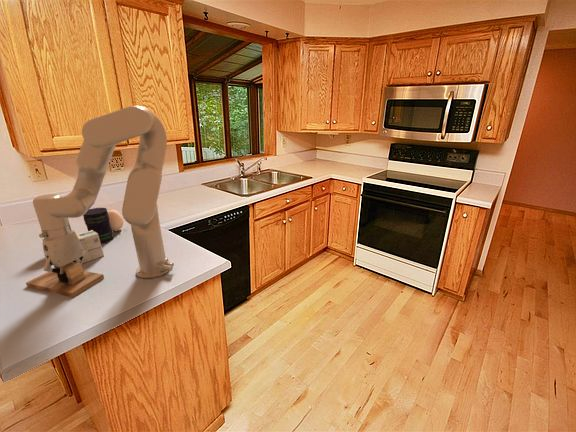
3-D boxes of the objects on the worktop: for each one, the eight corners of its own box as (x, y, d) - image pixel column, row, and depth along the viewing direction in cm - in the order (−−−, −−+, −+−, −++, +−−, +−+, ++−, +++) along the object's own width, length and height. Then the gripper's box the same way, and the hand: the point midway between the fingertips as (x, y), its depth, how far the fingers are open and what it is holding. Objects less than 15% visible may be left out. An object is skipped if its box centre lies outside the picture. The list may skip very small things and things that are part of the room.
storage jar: (94, 246, 132) (85, 216, 127) (87, 240, 138) (79, 211, 133) (117, 239, 139) (110, 210, 134) (110, 234, 145) (103, 206, 140)
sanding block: (85, 278, 104) (81, 263, 102) (73, 284, 100) (68, 269, 98) (70, 275, 106) (66, 260, 104) (58, 281, 102) (53, 266, 100)
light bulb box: (98, 251, 127) (92, 229, 124) (104, 256, 123) (98, 233, 120) (70, 261, 120) (63, 237, 116) (75, 266, 116) (68, 241, 112)
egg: (123, 232, 147) (118, 211, 143) (105, 234, 145) (100, 213, 141) (126, 227, 154) (121, 206, 150) (109, 229, 152) (104, 208, 148)
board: (104, 278, 107) (103, 274, 106) (73, 297, 96) (72, 293, 96) (60, 269, 113) (59, 266, 113) (27, 286, 102) (25, 282, 102)
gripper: (38, 243, 88) (55, 293, 94) (88, 223, 103) (100, 268, 109) (21, 240, 90) (39, 289, 96) (72, 221, 105) (85, 265, 111)
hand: (71, 277), depth 103 cm, fingers closed on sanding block, 4 cm apart
